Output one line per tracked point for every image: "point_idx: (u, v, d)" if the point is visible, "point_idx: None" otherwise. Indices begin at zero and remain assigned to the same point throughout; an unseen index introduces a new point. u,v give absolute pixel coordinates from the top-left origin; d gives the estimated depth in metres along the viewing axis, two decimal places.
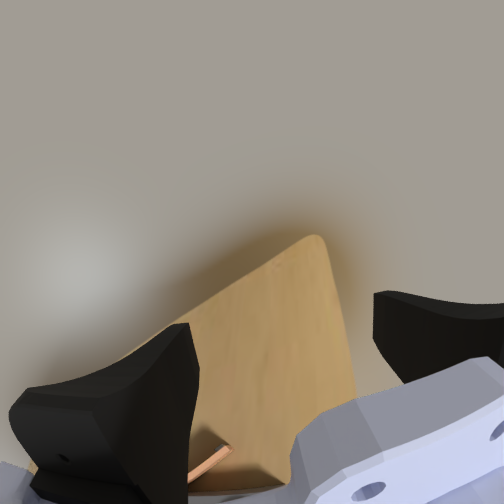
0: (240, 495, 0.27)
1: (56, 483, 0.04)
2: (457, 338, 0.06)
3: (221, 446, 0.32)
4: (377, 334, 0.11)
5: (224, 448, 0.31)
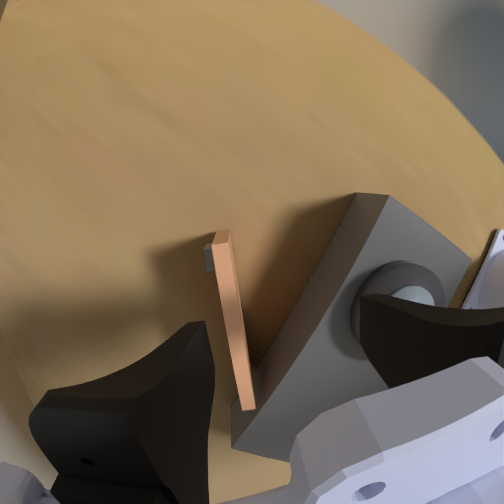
0: (342, 289, 0.15)
1: (79, 488, 0.04)
2: (439, 344, 0.06)
3: (208, 252, 0.16)
4: (363, 337, 0.11)
5: (217, 251, 0.14)
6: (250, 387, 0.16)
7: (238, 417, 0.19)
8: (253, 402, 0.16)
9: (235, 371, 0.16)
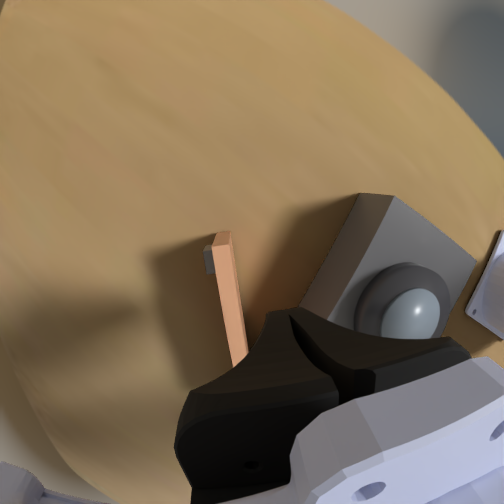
0: (346, 292, 0.15)
1: (229, 500, 0.04)
2: None
3: (208, 254, 0.15)
4: None
5: (218, 253, 0.14)
6: None
7: None
8: None
9: None
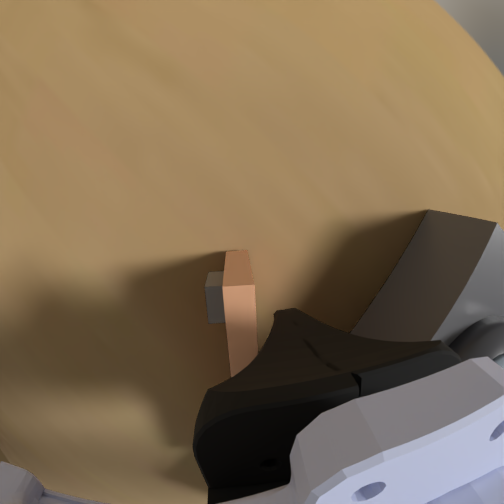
0: None
1: None
2: None
3: (214, 292, 0.09)
4: None
5: (233, 298, 0.08)
6: None
7: None
8: None
9: None
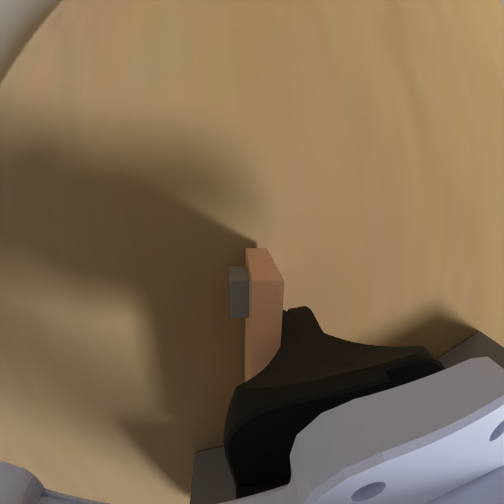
0: None
1: None
2: None
3: (238, 287, 0.09)
4: None
5: (261, 293, 0.08)
6: None
7: (212, 480, 0.12)
8: None
9: None
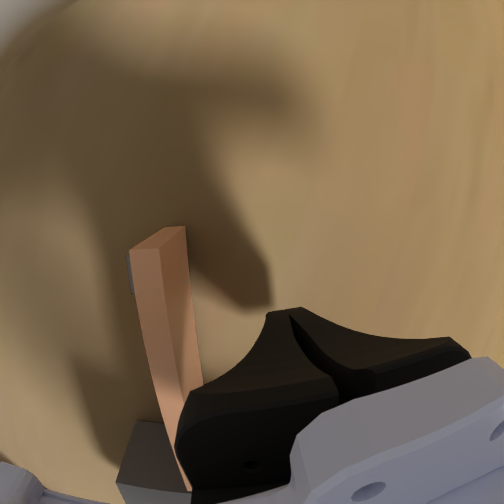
0: None
1: (230, 500, 0.04)
2: None
3: None
4: None
5: (139, 262, 0.07)
6: None
7: (149, 454, 0.11)
8: None
9: None
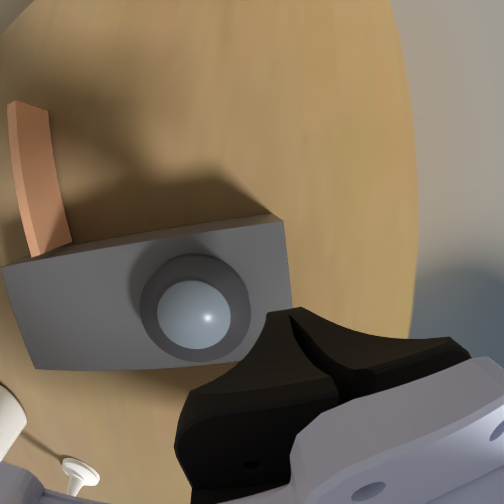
0: (177, 239, 0.15)
1: (230, 500, 0.04)
2: None
3: None
4: None
5: (9, 108, 0.13)
6: (32, 226, 0.14)
7: (28, 257, 0.17)
8: (37, 245, 0.15)
9: (20, 209, 0.14)
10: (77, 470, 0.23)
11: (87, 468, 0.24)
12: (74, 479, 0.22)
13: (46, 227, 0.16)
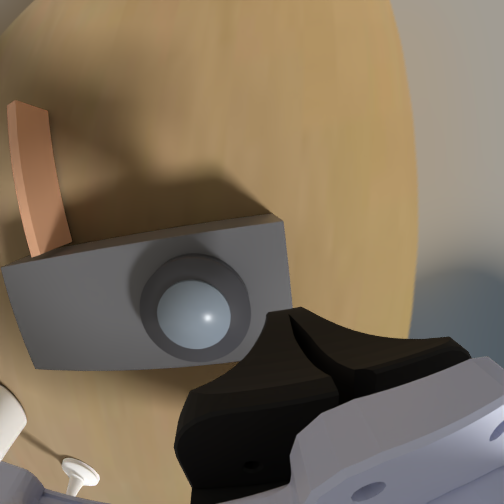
0: (177, 239, 0.15)
1: (230, 499, 0.04)
2: None
3: None
4: None
5: (9, 108, 0.13)
6: (32, 226, 0.14)
7: (28, 257, 0.17)
8: (37, 245, 0.15)
9: (20, 209, 0.14)
10: (77, 470, 0.23)
11: (87, 468, 0.24)
12: (74, 479, 0.22)
13: (46, 227, 0.16)
